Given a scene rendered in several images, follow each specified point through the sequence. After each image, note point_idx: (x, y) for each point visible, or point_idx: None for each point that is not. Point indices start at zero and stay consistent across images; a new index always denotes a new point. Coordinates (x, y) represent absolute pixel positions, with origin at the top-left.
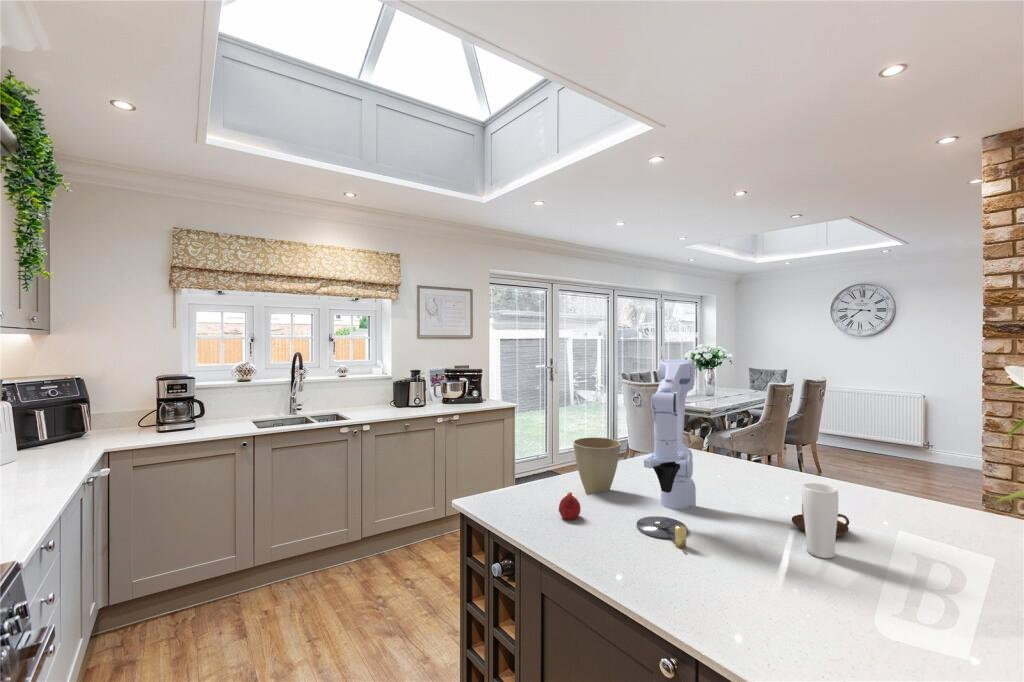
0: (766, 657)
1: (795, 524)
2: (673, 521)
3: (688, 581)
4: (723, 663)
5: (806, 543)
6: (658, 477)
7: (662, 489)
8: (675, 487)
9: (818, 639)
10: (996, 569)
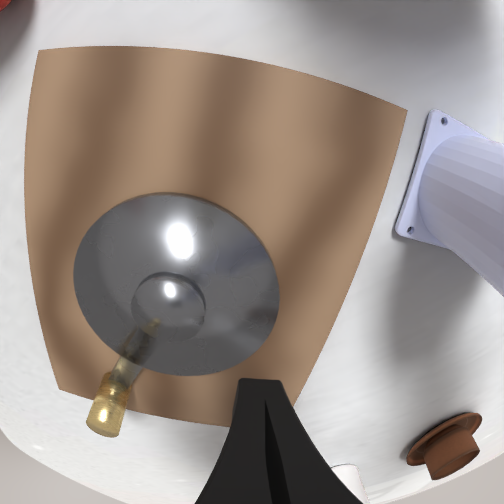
0: (44, 459)
1: (432, 433)
2: (252, 313)
3: (52, 405)
4: (7, 437)
5: (337, 476)
6: (214, 470)
7: (237, 395)
8: (491, 273)
9: (108, 484)
10: (390, 499)
